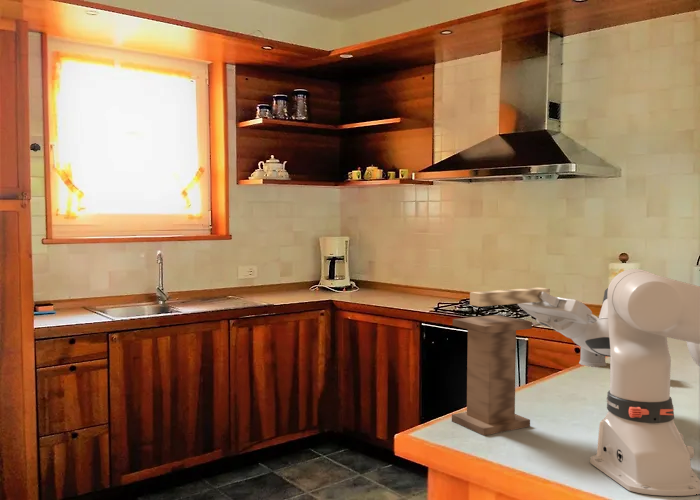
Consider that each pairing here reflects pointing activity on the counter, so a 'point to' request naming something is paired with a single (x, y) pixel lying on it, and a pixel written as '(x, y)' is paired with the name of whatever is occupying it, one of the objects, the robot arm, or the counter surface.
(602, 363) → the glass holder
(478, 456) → the counter surface
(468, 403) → the walnut pedestal
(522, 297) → the maple bar
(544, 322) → the robot arm
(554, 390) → the counter surface
